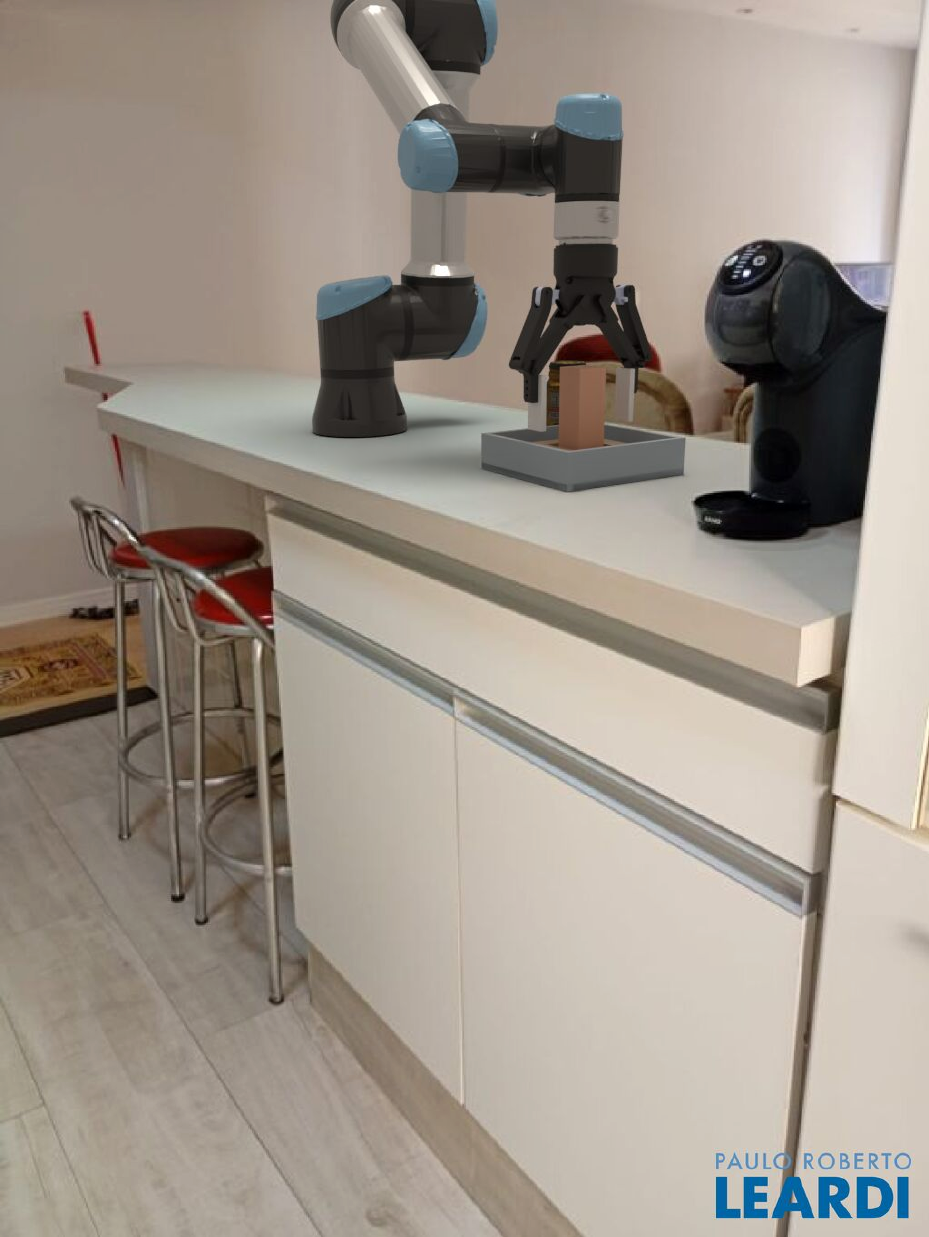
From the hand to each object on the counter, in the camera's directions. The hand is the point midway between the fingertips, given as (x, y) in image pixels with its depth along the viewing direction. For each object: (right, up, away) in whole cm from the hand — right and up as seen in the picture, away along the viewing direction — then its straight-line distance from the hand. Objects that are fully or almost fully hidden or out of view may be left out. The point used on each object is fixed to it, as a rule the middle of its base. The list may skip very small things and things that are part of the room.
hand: (581, 425), depth 125 cm
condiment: (-1, 0, +19) cm, 19 cm away
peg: (0, -5, +2) cm, 5 cm away
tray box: (0, -5, +2) cm, 6 cm away
